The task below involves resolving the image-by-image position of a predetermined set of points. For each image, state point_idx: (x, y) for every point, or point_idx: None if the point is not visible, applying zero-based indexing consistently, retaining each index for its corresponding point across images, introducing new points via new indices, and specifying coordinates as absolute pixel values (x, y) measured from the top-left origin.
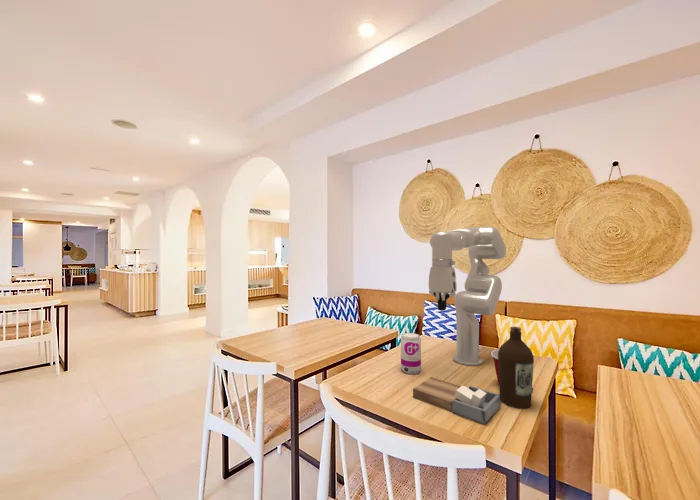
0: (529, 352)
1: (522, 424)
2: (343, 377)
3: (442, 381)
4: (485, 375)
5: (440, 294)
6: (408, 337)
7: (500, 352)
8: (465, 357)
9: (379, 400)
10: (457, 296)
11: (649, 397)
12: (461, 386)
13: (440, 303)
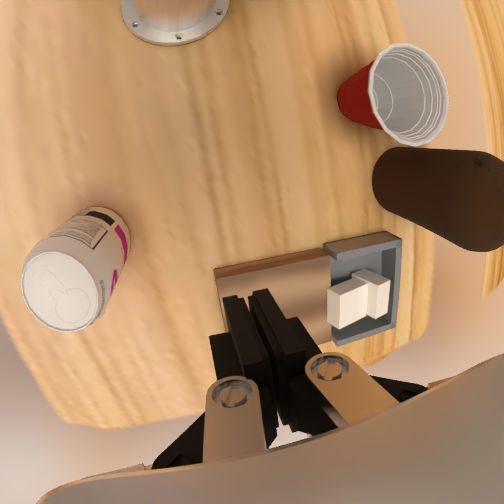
0: None
1: (423, 259)
2: (60, 399)
3: (258, 276)
4: (285, 71)
5: (252, 448)
6: (82, 328)
7: (465, 242)
8: (187, 23)
9: (195, 407)
10: None
11: (494, 10)
12: (340, 304)
13: (277, 407)
